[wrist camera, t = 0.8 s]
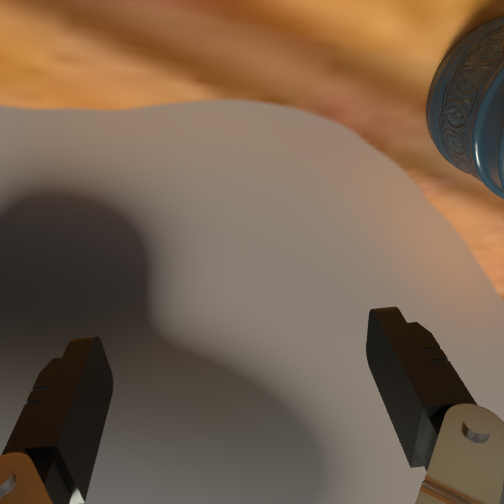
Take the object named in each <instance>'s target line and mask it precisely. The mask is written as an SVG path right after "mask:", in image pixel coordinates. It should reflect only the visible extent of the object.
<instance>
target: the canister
mask: <svg viewBox="0 0 504 504" xmlns="http://www.w3.org/2000/svg"><path fill="white" fill-rule="evenodd" d="M426 119H427V126H428V130H429V134H430V136H431V138H432V140H433V142H434V144H435V146H436V147H437V149H438V151H439V152H440V153H441V155H442V156H443V157H444V158H445V159H446V160H447V161H448V162H449V163H451V164H452V165H453V166H455V167H456V168H458V169H459V170H461V171H463V172H465V173H467V174H471V175H472V176H474V177H475V178H477V179H478V180H480V181H481V182H483V183H484V185H485V186H486V187H487V188H488V189H489V190H490V191H492V192H493V193H494V194H496V195H497V196H499V197H501V198H502V199H504V16H501V17H498V18H495V19H493V20H490V21H488V22H486V23H484V24H482V25H480V26H479V27H477V28H476V29H474V30H473V31H471V32H470V33H468V34H467V35H466V36H465V37H464V38H462V39H461V40H460V41H459V42H458V43H457V44H456V45H455V46H454V47H453V49H452V50H451V51H450V52H449V53H448V55H447V56H446V57H445V59H444V60H443V62H442V63H441V65H440V67H439V68H438V70H437V72H436V74H435V76H434V79H433V81H432V84H431V87H430V90H429V94H428V99H427V106H426Z"/></svg>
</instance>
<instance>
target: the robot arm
mask: <svg viewBox="0 0 504 504" xmlns="http://www.w3.org/2000/svg"><path fill="white" fill-rule="evenodd" d="M366 355H367V360H368V365H369V368H370V370H371V373H372V375H373V378H374V380H375V383H376V385H377V387H378V390H379V392H380V395H381V397H382V399H383V402H384V404H385V407H386V409H387V412H388V414H389V416H390V419H391V421H392V424H393V426H394V429H395V431H396V433H397V435H398V438H399V441H400V443H401V445H402V447H403V450H404V453H405V455H406V457H407V460H408V462H409V465H410V467H411V468H412V467H420V466H425V469H426V471H427V473H426V476H425V480H424V481H423V482H422V485H421V488H420V491H419V494H418V497H417V500H416V503H415V504H504V422H503V421H502V420H501V419H500V418H499V417H498V416H497V415H496V414H494V413H493V412H491V411H489V410H488V409H486V408H484V407H481V406H478V405H477V404H476V402H475V401H474V399H473V398H472V396H471V394H470V393H469V391H468V390H467V388H466V387H465V385H464V383H463V382H462V380H461V379H460V377H459V376H458V374H457V372H456V371H455V369H454V368H453V366H452V365H451V363H450V361H448V360H447V357H446V355H445V354H444V352H443V350H441V349H440V346H439V344H438V343H437V341H436V340H435V338H434V337H433V335H432V333H431V332H429V331H428V330H427V329H425V328H424V327H423V326H421V325H420V324H419V323H418V322H413V323H407V322H406V320H405V319H404V317H403V315H402V314H401V312H400V310H399V309H398V308H397V307H388V308H377V309H371V310H370V312H369V320H368V331H367V342H366ZM112 393H113V375H112V371H111V368H110V365H109V362H108V359H107V356H106V353H105V350H104V347H103V344H102V341H101V339H100V337H98V336H93V337H83V338H74V339H71V340H70V341H69V343H68V345H67V348H66V350H65V352H64V355H63V357H62V358H54V359H52V360H51V362H49V363H48V364H47V366H46V367H45V368H44V369H43V370H42V371H41V372H40V373H39V375H38V377H37V380H36V382H35V384H34V386H33V391H31V393H30V395H29V397H28V399H27V404H26V405H25V406H24V408H23V410H22V412H21V414H20V416H19V419H18V421H17V423H16V425H15V427H14V430H13V432H12V434H11V436H10V438H9V440H8V442H7V445H6V447H5V449H4V451H3V453H2V455H1V456H0V504H78V503H85V499H86V495H87V492H88V487H89V484H90V480H91V476H92V472H93V468H94V464H95V460H96V456H97V453H98V449H99V445H100V441H101V437H102V433H103V429H104V425H105V421H106V417H107V413H108V409H109V406H110V401H111V397H112Z"/></svg>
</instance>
